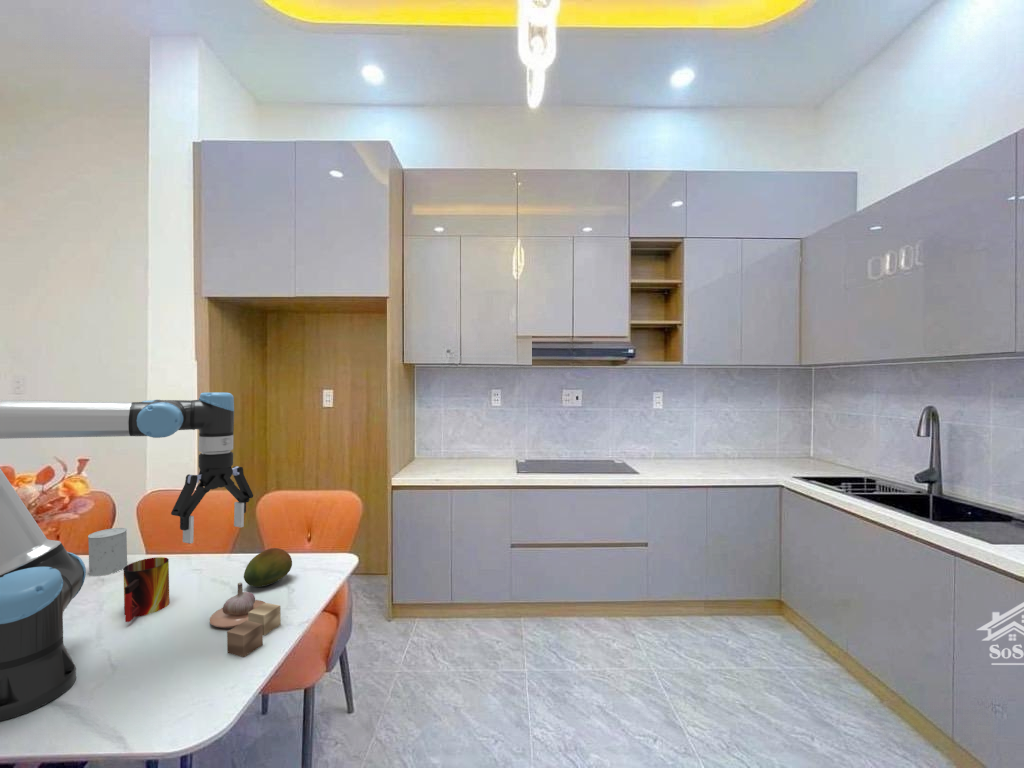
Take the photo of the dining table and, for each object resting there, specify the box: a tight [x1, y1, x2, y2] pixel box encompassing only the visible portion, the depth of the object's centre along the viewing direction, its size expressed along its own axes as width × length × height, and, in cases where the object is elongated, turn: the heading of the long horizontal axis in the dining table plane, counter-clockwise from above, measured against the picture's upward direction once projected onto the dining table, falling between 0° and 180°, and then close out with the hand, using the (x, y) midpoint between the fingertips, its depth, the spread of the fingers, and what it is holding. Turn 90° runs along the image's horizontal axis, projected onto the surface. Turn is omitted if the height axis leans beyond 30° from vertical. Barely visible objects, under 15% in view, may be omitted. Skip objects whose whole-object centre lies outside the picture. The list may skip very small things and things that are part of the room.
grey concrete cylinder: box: [87, 527, 128, 577], centre depth 150 cm, size 10×10×12 cm
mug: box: [122, 556, 170, 623], centre depth 123 cm, size 10×14×12 cm
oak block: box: [248, 602, 282, 636], centre depth 114 cm, size 5×5×5 cm
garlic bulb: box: [222, 581, 256, 615], centre depth 119 cm, size 8×7×8 cm
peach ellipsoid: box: [209, 599, 266, 629], centre depth 119 cm, size 13×13×1 cm
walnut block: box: [226, 620, 264, 658], centre depth 105 cm, size 5×5×5 cm
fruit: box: [243, 547, 293, 588], centre depth 138 cm, size 12×13×10 cm
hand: (214, 534), depth 118 cm, fingers open, 13 cm apart
